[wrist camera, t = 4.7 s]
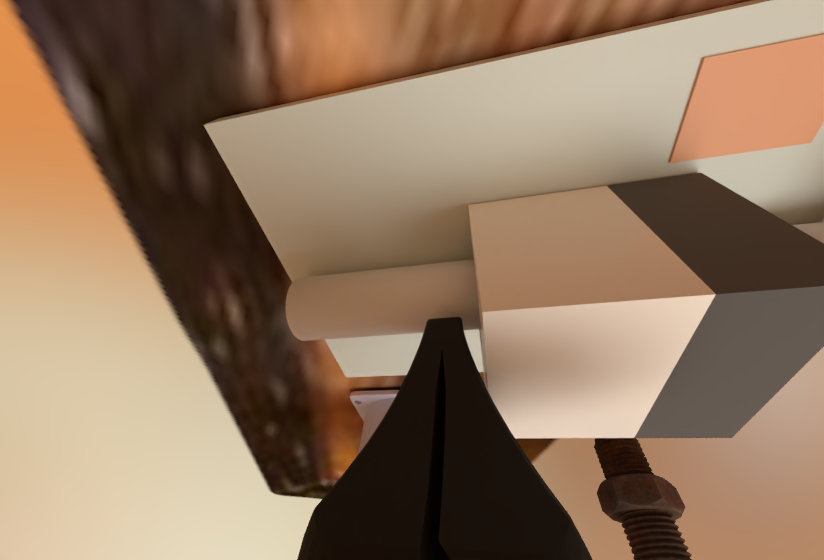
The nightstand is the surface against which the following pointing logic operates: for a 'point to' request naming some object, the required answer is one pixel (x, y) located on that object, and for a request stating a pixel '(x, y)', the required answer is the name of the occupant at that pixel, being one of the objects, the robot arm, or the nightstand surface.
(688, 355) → the dark grey block
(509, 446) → the robot arm
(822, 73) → the pipe clamp
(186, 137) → the nightstand surface
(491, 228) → the sleeve
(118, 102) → the nightstand surface
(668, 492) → the bolt
